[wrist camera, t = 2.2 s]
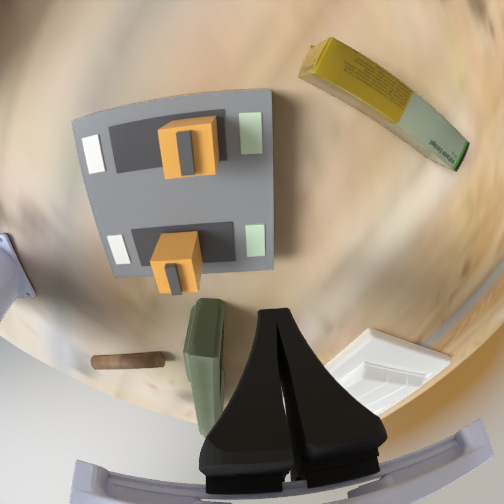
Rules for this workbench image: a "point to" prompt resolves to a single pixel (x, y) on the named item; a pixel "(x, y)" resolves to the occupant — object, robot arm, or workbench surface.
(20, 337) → the workbench surface
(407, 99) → the medication box
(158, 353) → the wooden dowel
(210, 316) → the handheld radio
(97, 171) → the box
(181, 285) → the breaker
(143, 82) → the workbench surface
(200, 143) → the breaker
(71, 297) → the workbench surface
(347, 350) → the vent cover
